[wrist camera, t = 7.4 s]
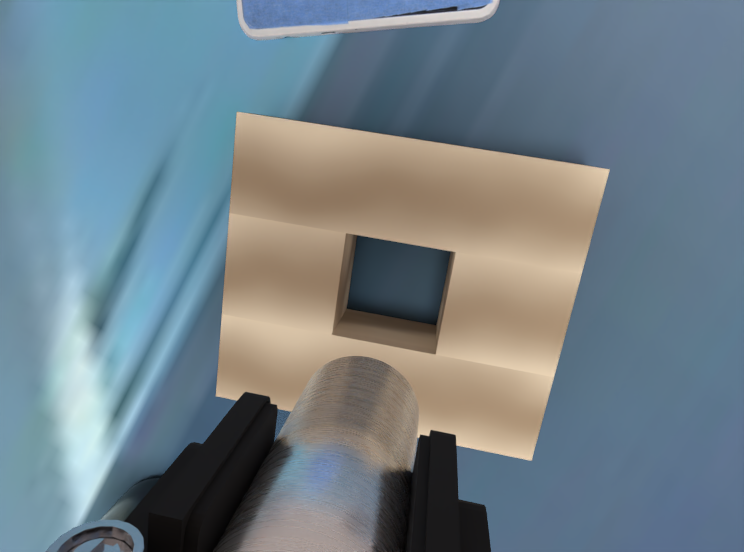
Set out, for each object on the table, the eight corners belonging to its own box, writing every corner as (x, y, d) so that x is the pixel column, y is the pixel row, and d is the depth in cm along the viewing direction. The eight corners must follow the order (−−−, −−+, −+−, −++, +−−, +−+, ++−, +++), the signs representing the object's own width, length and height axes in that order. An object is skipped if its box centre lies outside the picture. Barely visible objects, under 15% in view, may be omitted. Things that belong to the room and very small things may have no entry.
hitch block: (266, 115, 27) (236, 111, 23) (584, 164, 25) (609, 169, 21) (244, 363, 30) (215, 396, 27) (519, 418, 29) (531, 460, 25)
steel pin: (309, 345, 14) (-1, 814, 4) (428, 369, 13) (390, 927, 4) (296, 449, 15) (14, 1037, 5) (408, 473, 14) (334, 1143, 5)
